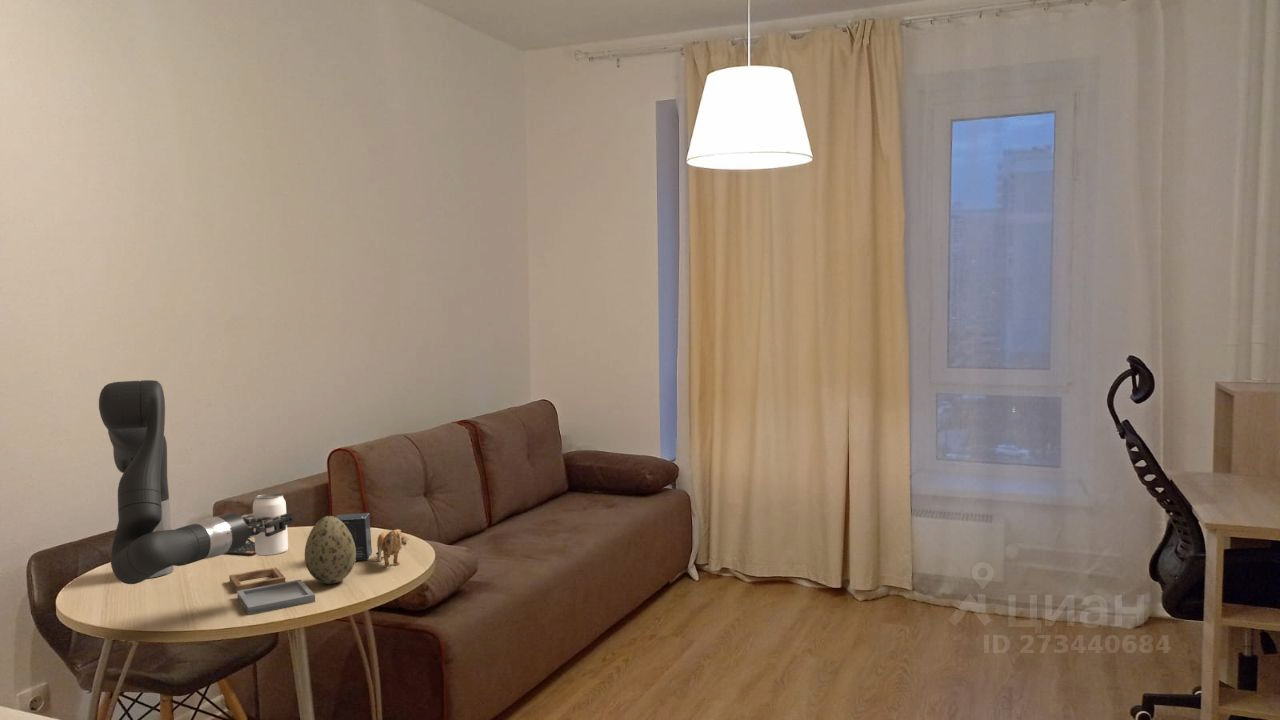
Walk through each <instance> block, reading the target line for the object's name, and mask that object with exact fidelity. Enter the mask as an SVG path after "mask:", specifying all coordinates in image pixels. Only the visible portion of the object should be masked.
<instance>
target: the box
mask: <svg viewBox="0 0 1280 720" xmlns="http://www.w3.org/2000/svg"><path fill="white" fill-rule="evenodd" d="M335 517H336V518H338V519H339V520H340V521H342V522H343V523H344V524H345V526H346V527H347V528H348V530H349V531H350V533H351V535H352V537H353V540H354V543H355V548H356V559H355V560H364V561H368V560H369V559H370V558H369V556H370V555H371V554H372V553H373V552H372V551H373V549H372V548H373V547H372V534H371V532H372V531H371V518H370V513H369V512H365V513H348V514H337V515H336V516H335ZM371 556H372V555H371ZM371 556H370V557H371ZM368 558H369V559H368ZM367 559H368V560H367Z"/></svg>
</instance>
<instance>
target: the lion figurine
mask: <svg viewBox="0 0 1280 720" xmlns="http://www.w3.org/2000/svg"><path fill="white" fill-rule="evenodd" d="M409 539H410V538H409V537H407V536H405V535H404V534H403V533H402V530H401V529H394V530H390V531H389V532H384V531H383V532H381V533H380V534H379V535H378V537H377V542H376V544H377V545H376V546H377V552H376V553H375V554H376V555H377V558H376V562H377V561H380V562H382V555H383V561H384V566H383V567H389V566H390V565H391V564H390V562H389V557H388V556H390V557H391V556H393V565H394V564H395V565H394V566H399V565H400V564H401V562H399V561H398V557H399V554H400V551H401V550H402V548H403V547H402V546H404V547H406V546H407V543H408V542H409ZM382 551H383V554H382ZM398 564H399V565H398ZM389 568H390V567H389Z"/></svg>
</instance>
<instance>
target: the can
mask: <svg viewBox="0 0 1280 720" xmlns="http://www.w3.org/2000/svg"><path fill="white" fill-rule="evenodd" d="M253 498H254V501H253V503H252V514H253V518H257V517H263V516H268V517H270V518H271V517H276V516H280V515H283V514H287V504H286V503H287V502H286V499H285V498H284V494H283V493H265V494H260V495H256V496H255V497H253ZM261 521H262V523H263V526H264V520H261ZM285 528H286V530H284V531H281V532H279V533H276V534H274V535H272V536H269V537H267V536H265V534H262V535H258V536H256V537H253V540H254V542H255V553H256V555H257V556H259V557H260V556H261V557H269V556H270V557H272V556H276V555H281V554H285V553H286V552H287V551H288V549H289V536H288V525H285Z"/></svg>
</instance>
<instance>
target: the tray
mask: <svg viewBox="0 0 1280 720" xmlns="http://www.w3.org/2000/svg"><path fill="white" fill-rule="evenodd" d="M236 594H237V596H236V597H237V600H238V601H239V602H240V603H241V606H242V607H243V609H244V610H245V611H246V613H247V615H248V616H250V615H255V614H259V613H265V612H270V611H275V610H279V609H280V610H281V609H286V608H290V607H296V606H299V605H300V606H301V605H305V604H310V603H311V604H312V603H315V602H316V594H315V593H314V592H313V591H312V590H311V589H310V588H309V587H308V585H306V584H305V583H304V581H302V579H296V580H289V581H285V582H284V583H278V584H273V585H267V586H262V587H256V588H251V589H246V590H240V591H237V592H236Z"/></svg>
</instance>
